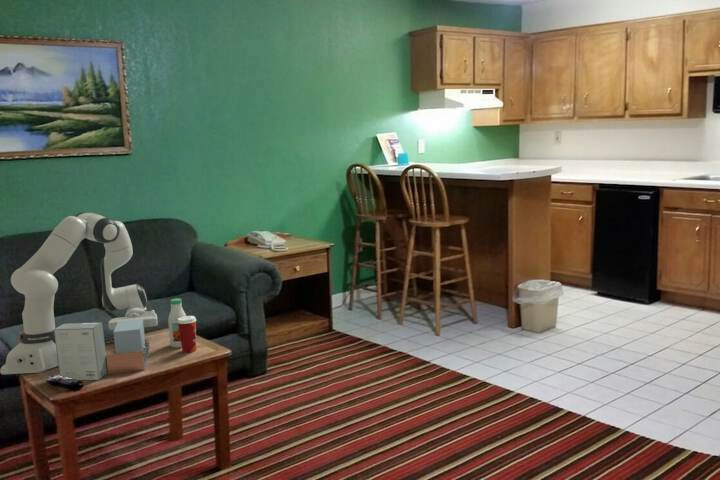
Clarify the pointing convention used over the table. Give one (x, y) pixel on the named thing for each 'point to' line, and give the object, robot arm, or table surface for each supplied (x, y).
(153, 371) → the table surface
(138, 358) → the roller conveyor
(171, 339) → the milk bottle
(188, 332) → the paper cup
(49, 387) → the table surface
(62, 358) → the hard drive box
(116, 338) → the light blue box
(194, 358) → the table surface
